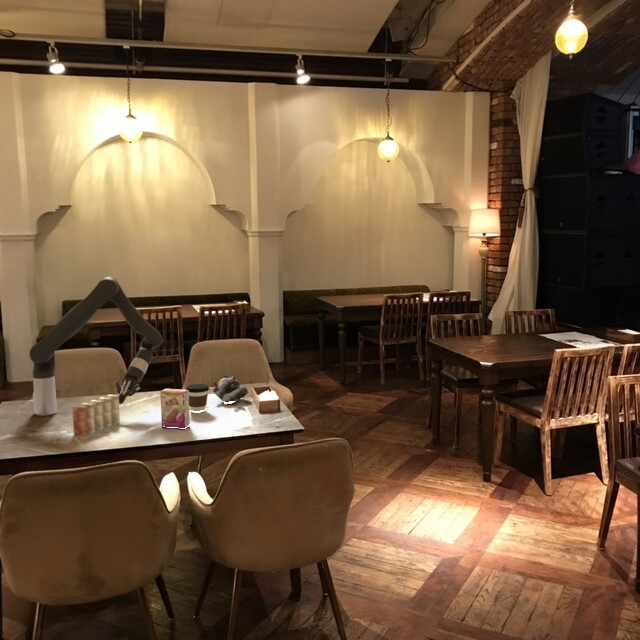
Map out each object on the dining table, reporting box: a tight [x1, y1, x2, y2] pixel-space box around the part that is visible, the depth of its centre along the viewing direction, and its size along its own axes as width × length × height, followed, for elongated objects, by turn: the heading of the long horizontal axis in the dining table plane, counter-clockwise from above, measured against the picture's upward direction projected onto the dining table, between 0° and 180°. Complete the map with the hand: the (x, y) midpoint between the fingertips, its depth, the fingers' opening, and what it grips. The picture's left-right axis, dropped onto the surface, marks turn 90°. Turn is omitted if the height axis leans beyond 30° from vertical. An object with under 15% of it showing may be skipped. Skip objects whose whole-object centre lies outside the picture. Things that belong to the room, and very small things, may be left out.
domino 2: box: [80, 402, 95, 433], centre depth 294 cm, size 5×2×12 cm, turn 64°
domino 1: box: [71, 405, 86, 436], centre depth 289 cm, size 5×2×12 cm, turn 63°
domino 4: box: [98, 396, 112, 426], centre depth 303 cm, size 5×2×12 cm, turn 63°
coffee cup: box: [184, 383, 210, 411], centre depth 325 cm, size 11×11×12 cm
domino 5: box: [106, 394, 121, 423], centre depth 307 cm, size 5×2×12 cm, turn 63°
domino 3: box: [89, 399, 103, 430], centre depth 298 cm, size 5×2×12 cm, turn 63°
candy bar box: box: [160, 388, 191, 428], centre depth 301 cm, size 11×5×16 cm, turn 74°
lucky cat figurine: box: [212, 375, 249, 402], centre depth 342 cm, size 15×12×14 cm
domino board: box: [63, 420, 130, 440], centre depth 299 cm, size 12×26×1 cm, turn 153°
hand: (119, 402), depth 310 cm, fingers closed
